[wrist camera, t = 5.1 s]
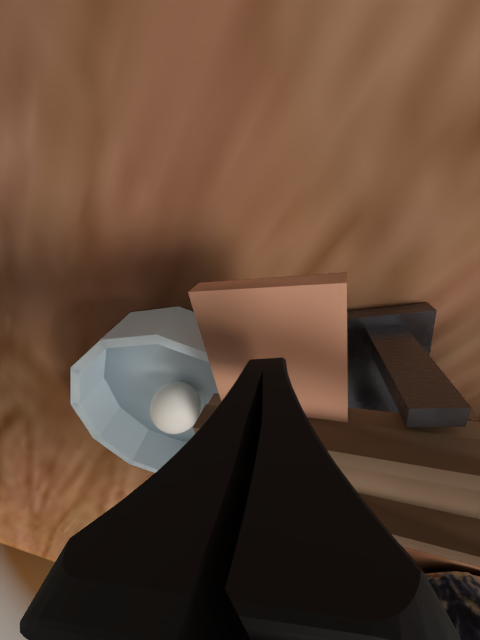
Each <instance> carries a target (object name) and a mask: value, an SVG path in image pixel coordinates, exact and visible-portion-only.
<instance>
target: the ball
mask: <svg viewBox="0 0 480 640" xmlns="http://www.w3.org/2000/svg"><path fill="white" fill-rule="evenodd" d="M200 412H201V400H200V397H199V394H198V393H197V391H196V390H195V389H194V388H193V387H192V386H191V385H189V384H187V383H184V382H171V383H168V384H165V385H164V386H162V387H161V388H160V389H159V390H157V392H156V393H155V394H154V396H153V398H152V400H151V404H150V415H151V419H152V421H153V423H154V424H155V426H156V427H157V428H158V429H160V430H161V431H163V432H165V433H169V434H178V433H182V432H185V431H187V430H188V429H190V428H191V427H192V426H193V425H194V424H195V422H196V421H197V419H198V417H199V415H200Z"/></svg>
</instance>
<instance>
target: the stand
mask: <svg viewBox="0 0 480 640" xmlns="http://www.w3.org/2000/svg"><path fill="white" fill-rule="evenodd" d="M436 311H437V310H435V309H434V308H433V307H432V306H431V305H430V304H429V303H428V302H427V303H418V304H408V305H398V306H388V307H379V308H369V309H359V310H349V311H347V371H348V408H357V409H367V410H376V411H385V412H394V413H400V415H401V417H402V419H403V422H404V424H405V426H406V427H466V424H467V420H468V417H469V413H470V410H471V407H470V405H469V404H468V403H467V402H466V401H465V399H464V398H463V397H462V396H461V394H460V393H459V392H458V391H457V389H456V388H455V387H454V386H453V384H452V383H451V382H450V381H449V380H448V378H447V377H446V376H445V375H444V373H443V372H442V371H441V370H440V368H439V367H438V366H437V365H436V363H435V362H434V361H433V360H432V358H431V357H430V356H429V353H430V347H431V341H432V335H433V329H434V323H435V317H436Z"/></svg>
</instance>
